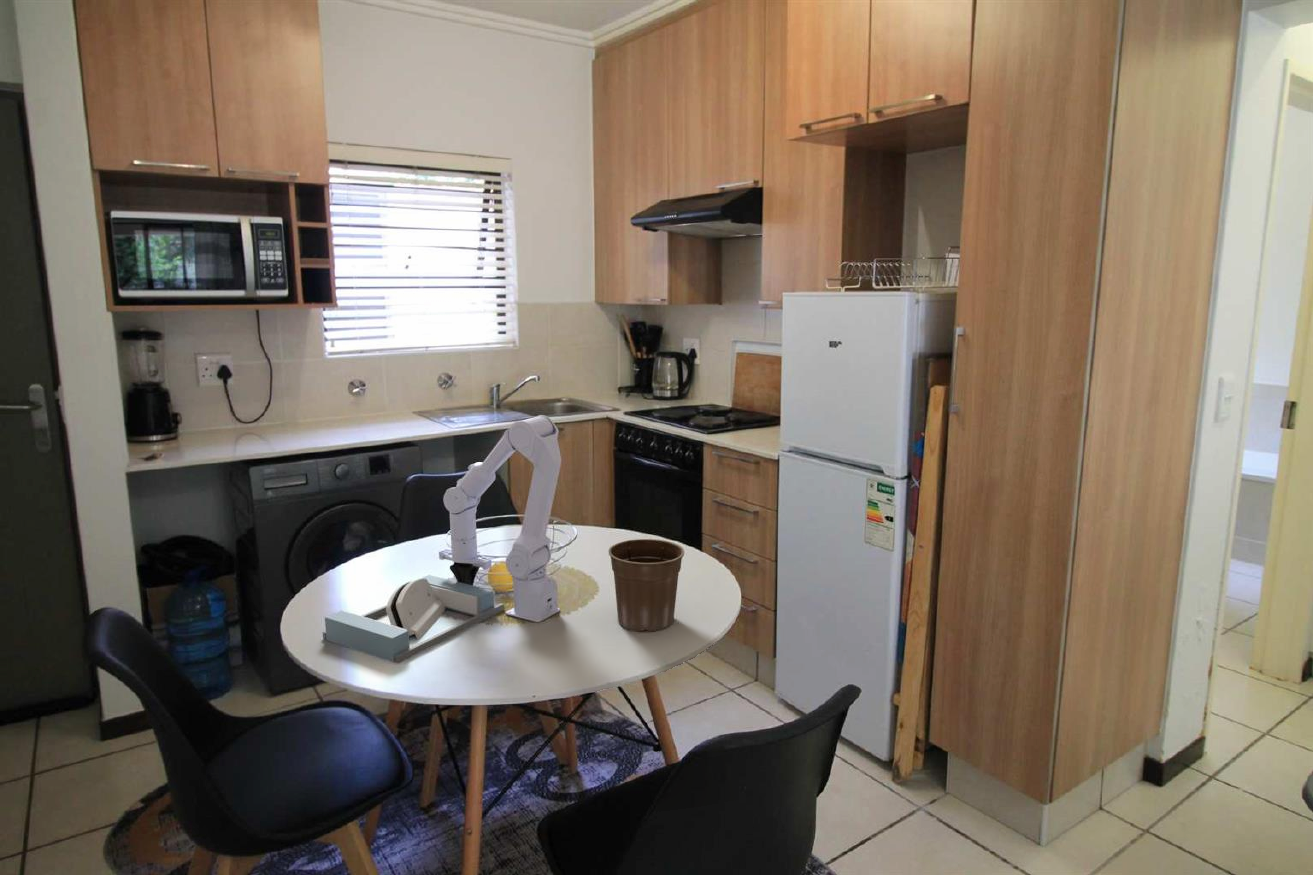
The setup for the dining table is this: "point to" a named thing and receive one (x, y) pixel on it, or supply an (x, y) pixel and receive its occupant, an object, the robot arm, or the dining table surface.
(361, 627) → the vise
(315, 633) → the dining table surface
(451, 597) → the block
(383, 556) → the dining table surface
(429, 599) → the hinge
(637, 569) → the plant pot
